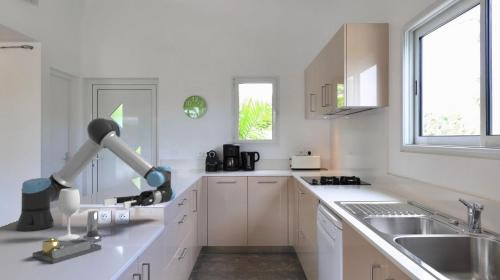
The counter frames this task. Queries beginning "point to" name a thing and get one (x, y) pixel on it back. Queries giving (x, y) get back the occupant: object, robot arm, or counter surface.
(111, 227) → the counter surface
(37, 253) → the carrier plate
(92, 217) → the flanged metal post
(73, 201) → the wineglass
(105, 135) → the robot arm
